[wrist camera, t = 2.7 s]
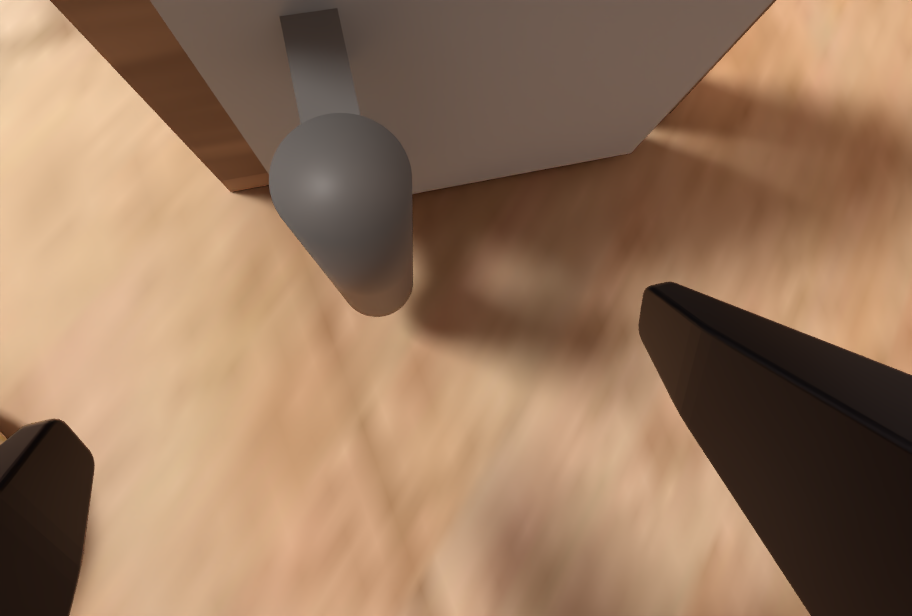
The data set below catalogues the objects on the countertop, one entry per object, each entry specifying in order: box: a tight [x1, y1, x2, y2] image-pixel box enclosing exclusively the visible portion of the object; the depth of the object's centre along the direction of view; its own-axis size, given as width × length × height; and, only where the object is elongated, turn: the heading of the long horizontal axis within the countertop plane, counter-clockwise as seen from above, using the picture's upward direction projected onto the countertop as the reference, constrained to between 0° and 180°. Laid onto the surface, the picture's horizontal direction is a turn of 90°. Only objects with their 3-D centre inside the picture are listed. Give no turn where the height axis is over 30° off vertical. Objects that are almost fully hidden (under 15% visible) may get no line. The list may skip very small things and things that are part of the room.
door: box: [150, 0, 773, 317], centre depth 12 cm, size 6×12×14 cm, turn 103°
